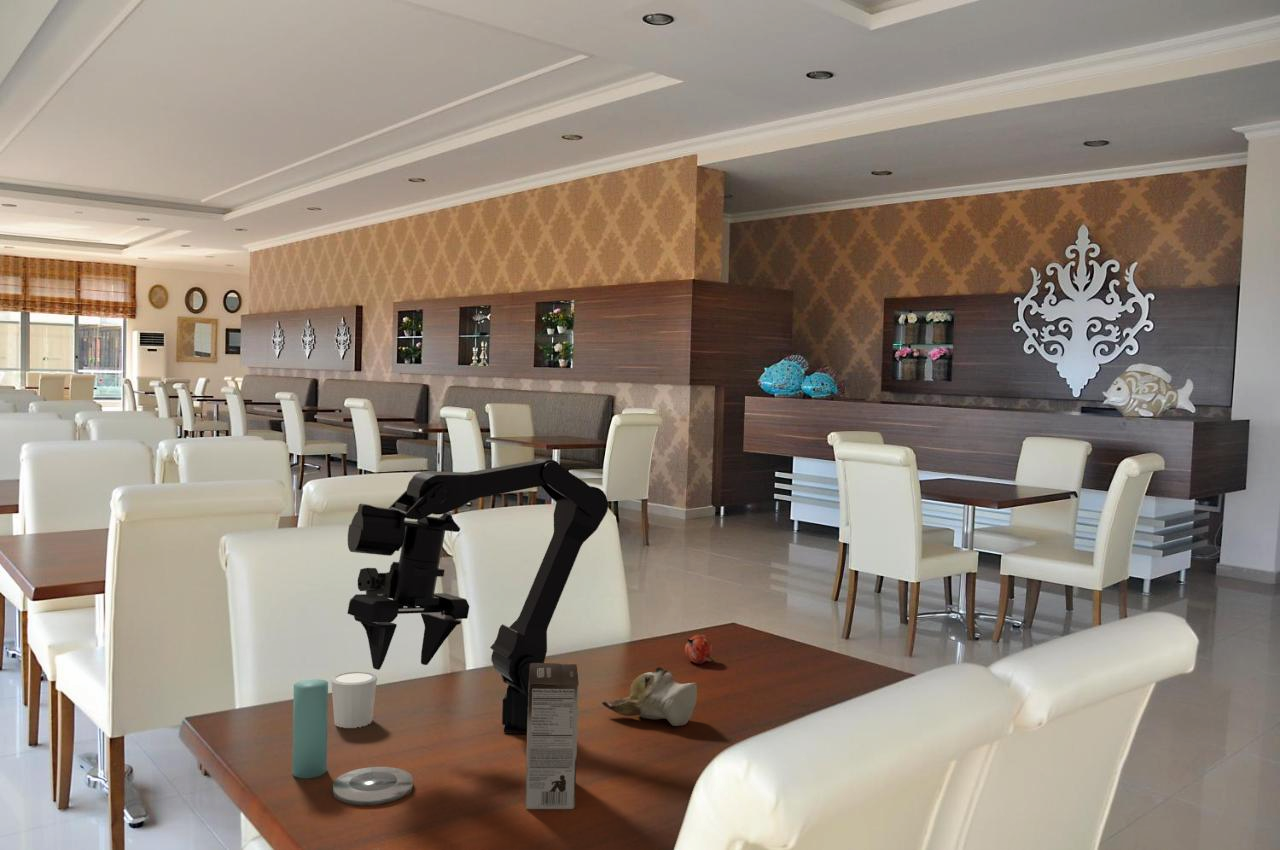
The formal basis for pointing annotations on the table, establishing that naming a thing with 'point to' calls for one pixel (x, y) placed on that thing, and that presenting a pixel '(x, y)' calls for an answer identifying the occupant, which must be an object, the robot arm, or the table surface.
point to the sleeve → (310, 728)
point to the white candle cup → (353, 698)
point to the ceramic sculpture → (658, 698)
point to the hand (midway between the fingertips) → (400, 666)
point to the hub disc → (372, 785)
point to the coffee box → (552, 736)
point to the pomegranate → (698, 648)
